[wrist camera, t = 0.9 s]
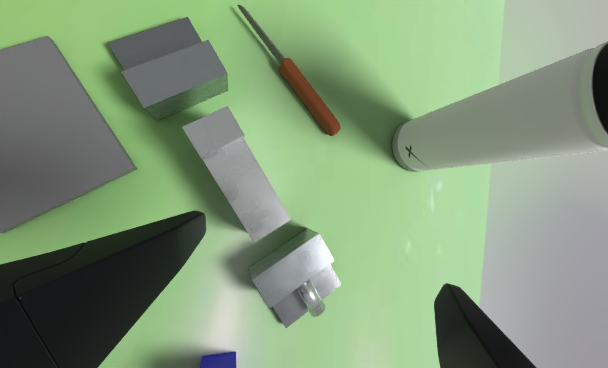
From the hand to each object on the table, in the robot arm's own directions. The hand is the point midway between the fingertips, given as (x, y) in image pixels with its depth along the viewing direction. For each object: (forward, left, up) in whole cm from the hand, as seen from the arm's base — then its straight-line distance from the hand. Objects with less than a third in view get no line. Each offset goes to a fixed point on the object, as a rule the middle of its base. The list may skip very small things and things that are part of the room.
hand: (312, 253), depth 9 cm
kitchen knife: (+10, +11, -16) cm, 22 cm away
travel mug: (+20, -3, -16) cm, 26 cm away
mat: (-12, +15, -16) cm, 25 cm away
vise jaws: (0, +4, -16) cm, 16 cm away
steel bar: (0, +4, -16) cm, 17 cm away
